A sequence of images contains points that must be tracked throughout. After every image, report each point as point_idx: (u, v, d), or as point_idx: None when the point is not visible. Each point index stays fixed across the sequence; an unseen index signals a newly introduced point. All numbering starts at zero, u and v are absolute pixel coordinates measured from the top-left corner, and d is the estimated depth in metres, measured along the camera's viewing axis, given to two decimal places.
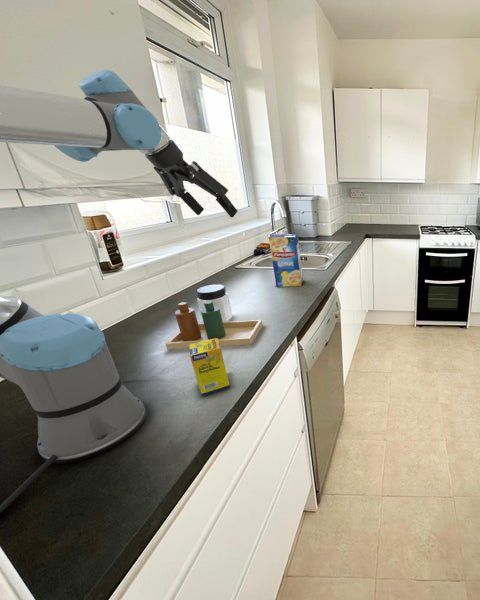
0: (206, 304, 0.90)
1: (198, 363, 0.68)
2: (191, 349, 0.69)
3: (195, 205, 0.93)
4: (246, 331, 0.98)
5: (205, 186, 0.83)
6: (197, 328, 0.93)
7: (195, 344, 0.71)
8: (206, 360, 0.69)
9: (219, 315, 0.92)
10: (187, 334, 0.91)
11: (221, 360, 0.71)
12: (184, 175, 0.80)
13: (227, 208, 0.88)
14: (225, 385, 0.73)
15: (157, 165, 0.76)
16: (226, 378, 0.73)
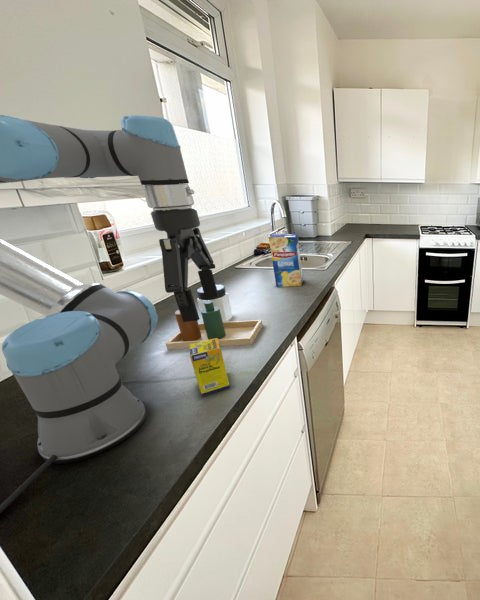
0: (206, 304, 0.90)
1: (198, 363, 0.68)
2: (191, 349, 0.69)
3: (208, 286, 0.74)
4: (246, 331, 0.98)
5: None
6: (197, 328, 0.93)
7: (195, 344, 0.71)
8: (206, 360, 0.69)
9: (219, 315, 0.92)
10: (187, 334, 0.91)
11: (221, 360, 0.71)
12: None
13: (182, 308, 0.61)
14: (225, 385, 0.73)
15: None
16: (226, 378, 0.73)
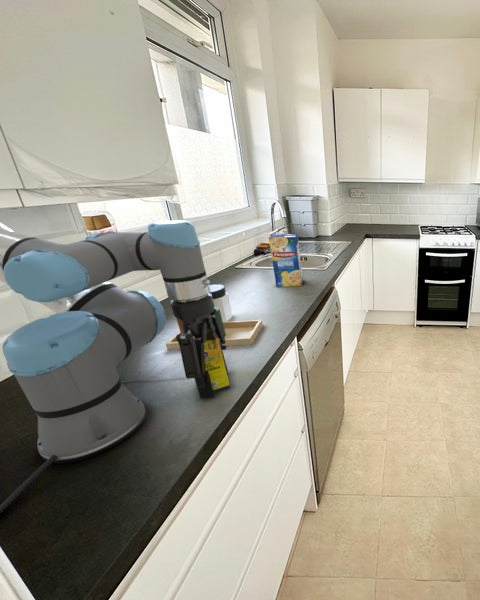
0: None
1: None
2: None
3: None
4: (246, 331, 0.98)
5: None
6: None
7: None
8: (206, 360, 0.69)
9: (219, 315, 0.92)
10: None
11: (221, 360, 0.71)
12: None
13: (200, 387, 0.69)
14: (225, 385, 0.73)
15: None
16: (226, 378, 0.73)
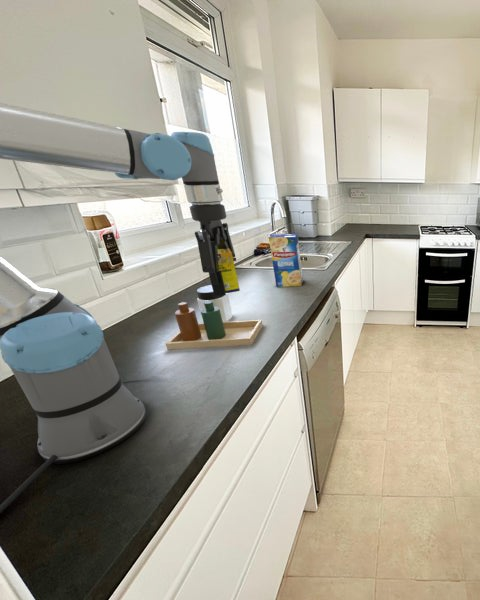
0: (206, 304, 0.90)
1: None
2: None
3: None
4: (246, 331, 0.98)
5: None
6: (197, 328, 0.93)
7: None
8: (219, 261, 0.80)
9: (219, 315, 0.92)
10: (187, 334, 0.91)
11: (232, 263, 0.82)
12: None
13: (214, 285, 0.80)
14: (236, 288, 0.84)
15: None
16: (236, 281, 0.84)
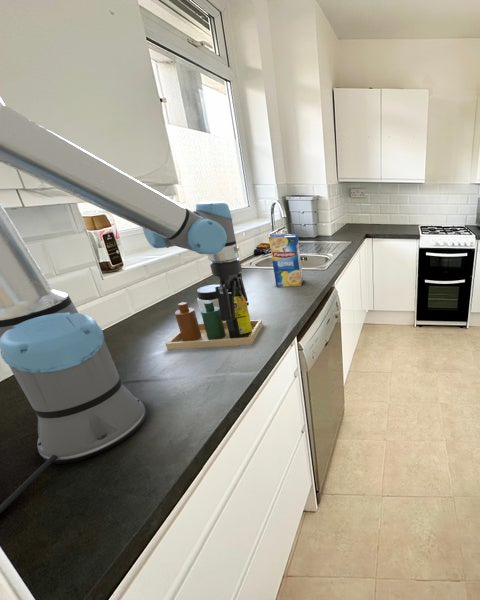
0: (206, 304, 0.90)
1: None
2: None
3: None
4: None
5: None
6: (197, 328, 0.93)
7: None
8: (235, 309, 0.90)
9: (219, 315, 0.92)
10: (187, 334, 0.91)
11: (246, 310, 0.92)
12: None
13: (230, 330, 0.90)
14: (249, 331, 0.94)
15: None
16: (250, 325, 0.94)
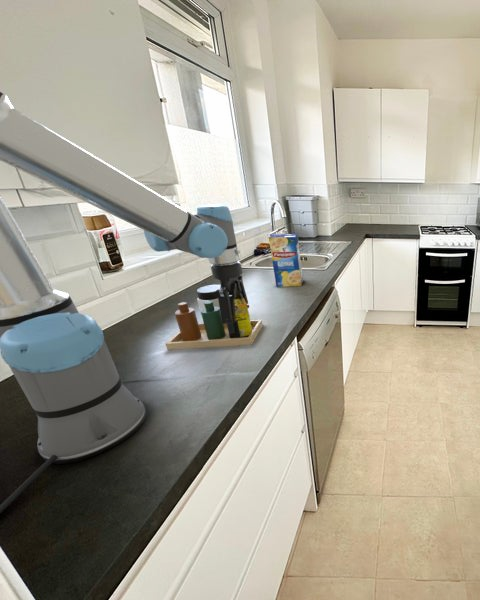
0: (206, 304, 0.90)
1: None
2: None
3: None
4: None
5: None
6: (197, 328, 0.93)
7: None
8: (236, 312, 0.90)
9: (219, 315, 0.92)
10: (187, 334, 0.91)
11: (247, 313, 0.92)
12: None
13: (231, 333, 0.91)
14: (249, 333, 0.94)
15: None
16: (250, 328, 0.94)
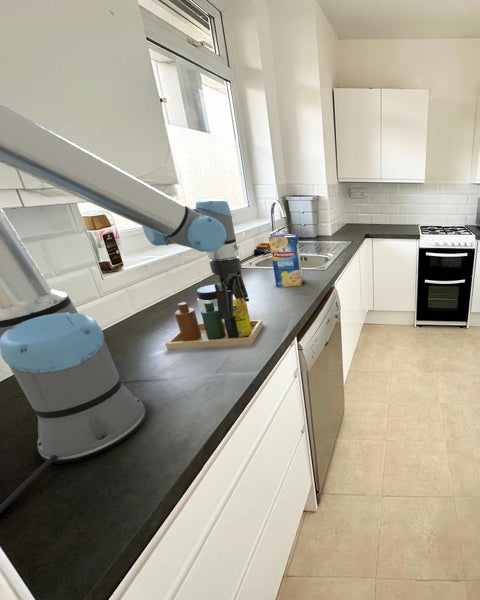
0: (206, 304, 0.90)
1: None
2: None
3: None
4: None
5: None
6: (197, 328, 0.93)
7: None
8: (235, 312, 0.90)
9: None
10: (187, 334, 0.91)
11: (246, 313, 0.92)
12: None
13: (228, 329, 0.89)
14: (249, 334, 0.94)
15: None
16: (250, 328, 0.94)
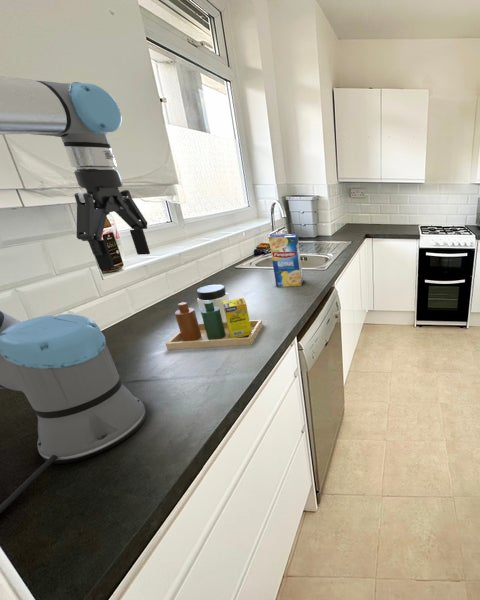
0: (206, 304, 0.90)
1: (229, 314, 0.90)
2: (224, 304, 0.91)
3: (140, 244, 0.83)
4: None
5: None
6: (197, 328, 0.93)
7: (227, 301, 0.93)
8: (235, 312, 0.90)
9: (219, 315, 0.92)
10: (187, 334, 0.91)
11: (246, 313, 0.92)
12: None
13: (97, 256, 0.70)
14: (249, 334, 0.94)
15: None
16: (250, 328, 0.94)
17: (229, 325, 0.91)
